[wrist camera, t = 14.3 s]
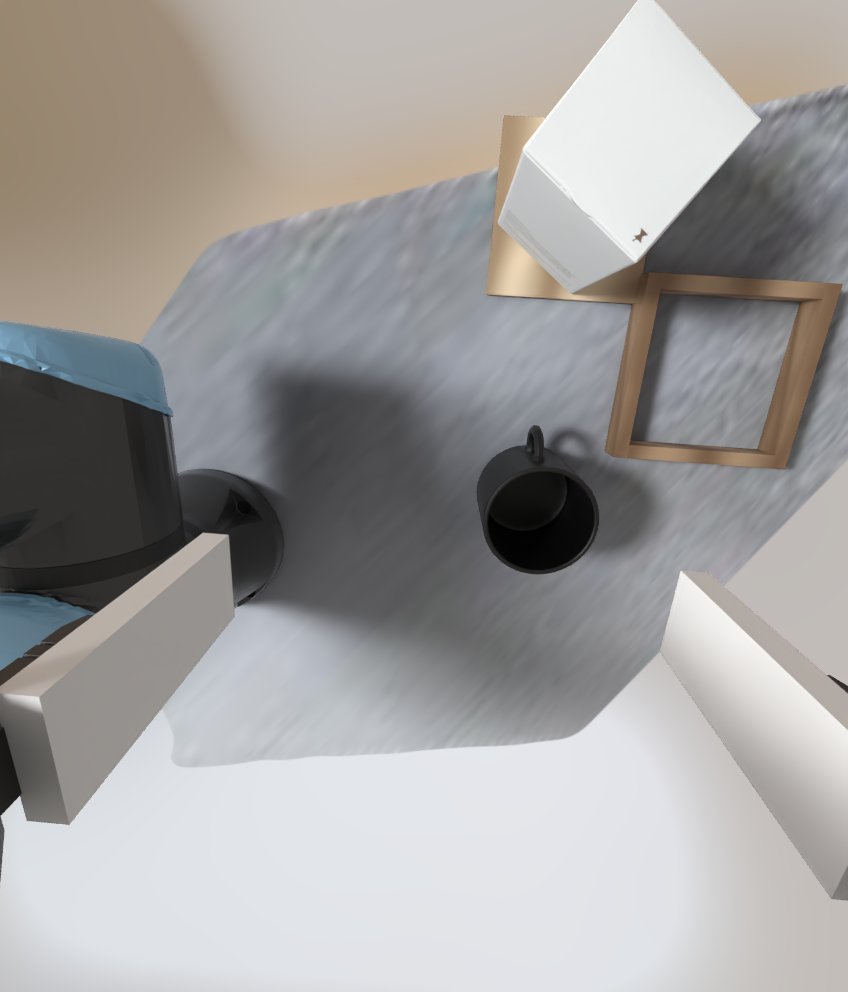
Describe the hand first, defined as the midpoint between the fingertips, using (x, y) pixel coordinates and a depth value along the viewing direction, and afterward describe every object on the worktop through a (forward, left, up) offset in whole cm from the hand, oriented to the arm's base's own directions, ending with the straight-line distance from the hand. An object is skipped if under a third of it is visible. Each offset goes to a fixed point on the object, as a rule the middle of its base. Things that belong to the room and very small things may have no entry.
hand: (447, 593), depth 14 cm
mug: (+8, -5, -33) cm, 34 cm away
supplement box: (+9, +18, -32) cm, 38 cm away
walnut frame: (+23, +6, -33) cm, 40 cm away
